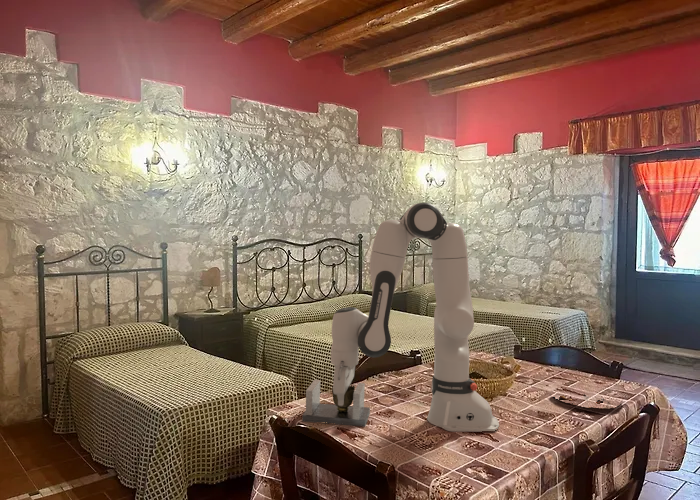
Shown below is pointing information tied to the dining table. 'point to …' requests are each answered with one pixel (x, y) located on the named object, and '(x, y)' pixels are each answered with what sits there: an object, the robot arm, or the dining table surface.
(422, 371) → the dining table surface
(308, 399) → the sliding jaw
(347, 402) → the cup
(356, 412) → the vise
